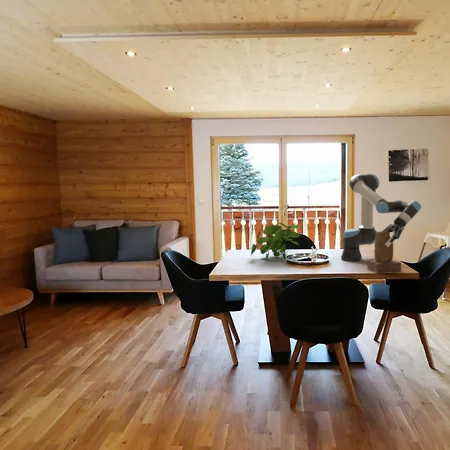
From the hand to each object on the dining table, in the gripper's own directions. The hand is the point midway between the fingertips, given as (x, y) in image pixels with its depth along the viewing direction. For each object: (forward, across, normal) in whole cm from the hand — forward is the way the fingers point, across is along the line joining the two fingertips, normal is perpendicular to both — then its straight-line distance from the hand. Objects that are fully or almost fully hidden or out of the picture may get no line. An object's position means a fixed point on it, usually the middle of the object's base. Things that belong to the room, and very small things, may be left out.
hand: (380, 244), depth 270 cm
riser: (+11, 0, -14) cm, 18 cm away
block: (+7, 0, -10) cm, 12 cm away
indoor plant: (+51, +60, +25) cm, 82 cm away
